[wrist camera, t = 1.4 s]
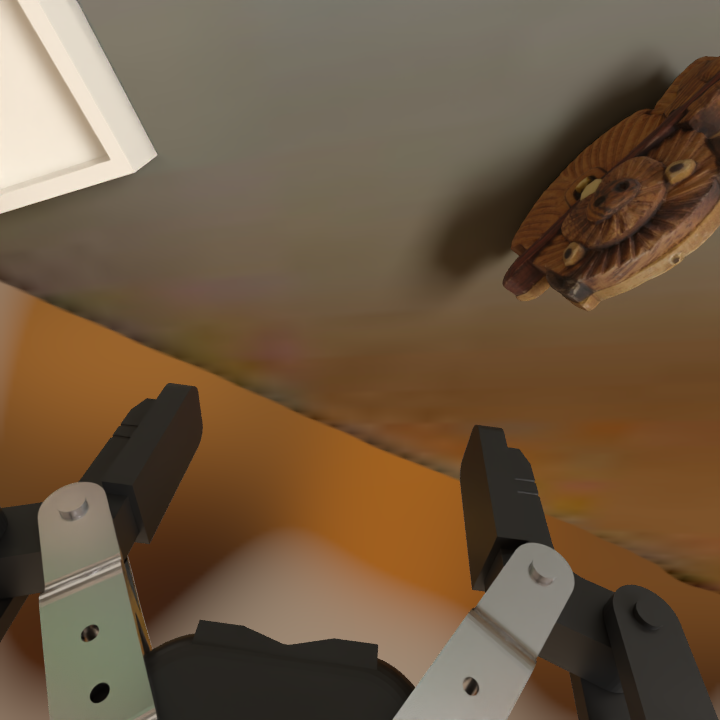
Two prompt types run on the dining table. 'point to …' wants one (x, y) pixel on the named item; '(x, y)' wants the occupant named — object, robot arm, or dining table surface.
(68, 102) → the tray
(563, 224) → the wooden carving
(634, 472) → the dining table surface
